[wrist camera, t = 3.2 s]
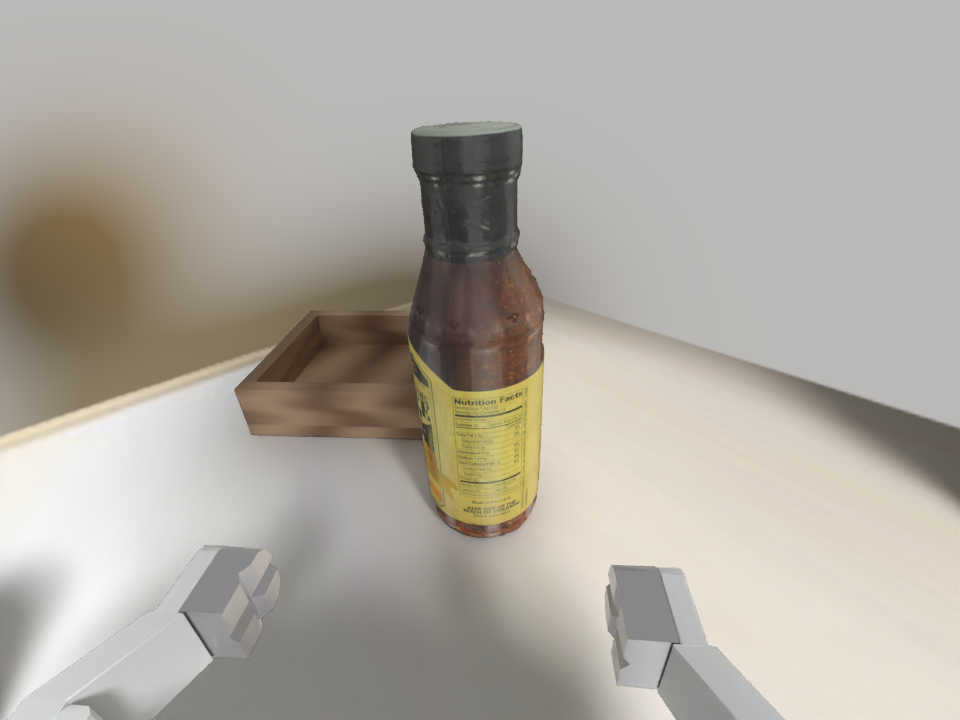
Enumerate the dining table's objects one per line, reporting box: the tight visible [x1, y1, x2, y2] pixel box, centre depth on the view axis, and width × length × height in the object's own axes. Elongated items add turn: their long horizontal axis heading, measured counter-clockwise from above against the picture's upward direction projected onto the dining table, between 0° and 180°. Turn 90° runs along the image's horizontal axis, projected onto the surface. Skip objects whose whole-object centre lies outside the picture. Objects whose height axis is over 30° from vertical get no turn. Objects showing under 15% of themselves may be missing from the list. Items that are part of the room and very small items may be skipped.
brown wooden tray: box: [234, 311, 423, 439], centre depth 37 cm, size 13×13×4 cm
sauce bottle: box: [407, 121, 544, 537], centre depth 21 cm, size 7×6×20 cm
